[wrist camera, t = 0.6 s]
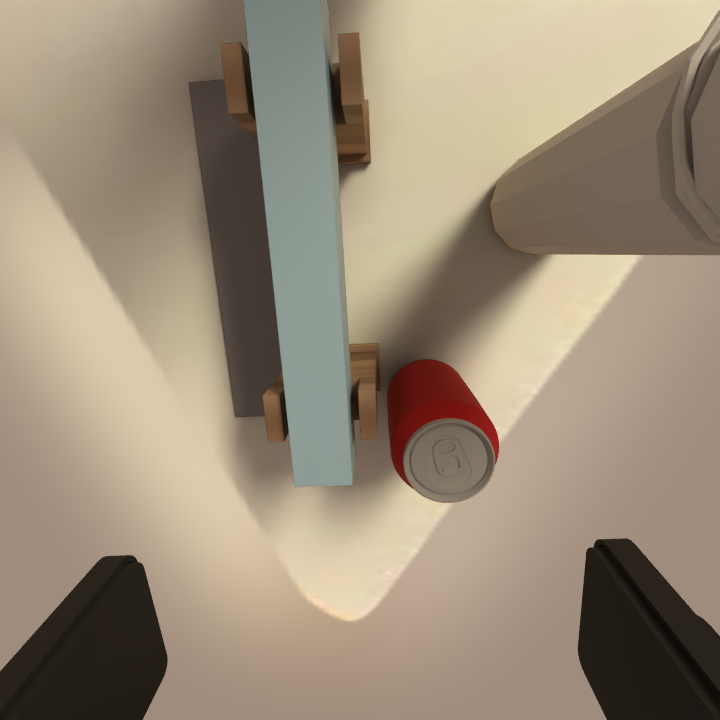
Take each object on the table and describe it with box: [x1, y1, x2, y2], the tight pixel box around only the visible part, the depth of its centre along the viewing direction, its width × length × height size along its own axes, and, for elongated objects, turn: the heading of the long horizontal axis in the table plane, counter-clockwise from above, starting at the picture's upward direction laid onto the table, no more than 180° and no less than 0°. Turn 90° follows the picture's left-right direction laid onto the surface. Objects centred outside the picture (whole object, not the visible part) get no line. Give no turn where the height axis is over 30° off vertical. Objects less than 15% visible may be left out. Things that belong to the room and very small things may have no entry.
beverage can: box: [387, 360, 499, 503], centre depth 29 cm, size 7×7×12 cm
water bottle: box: [490, 10, 720, 255], centre depth 19 cm, size 9×8×25 cm
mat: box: [189, 80, 282, 417], centre depth 33 cm, size 26×6×1 cm, turn 3°
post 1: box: [220, 33, 371, 165], centre depth 25 cm, size 4×7×11 cm, turn 93°
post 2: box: [263, 343, 380, 442], centre depth 30 cm, size 4×7×11 cm, turn 93°
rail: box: [243, 0, 356, 487], centre depth 23 cm, size 26×4×4 cm, turn 3°
